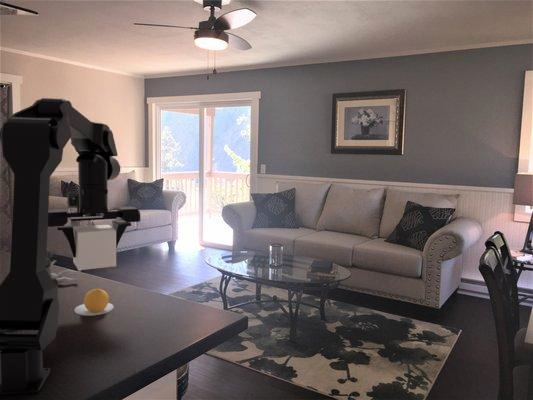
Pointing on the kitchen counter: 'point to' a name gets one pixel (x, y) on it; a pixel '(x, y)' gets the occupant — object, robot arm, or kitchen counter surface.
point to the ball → (96, 300)
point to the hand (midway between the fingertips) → (94, 255)
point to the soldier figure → (61, 275)
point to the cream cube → (94, 247)
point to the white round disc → (83, 311)
